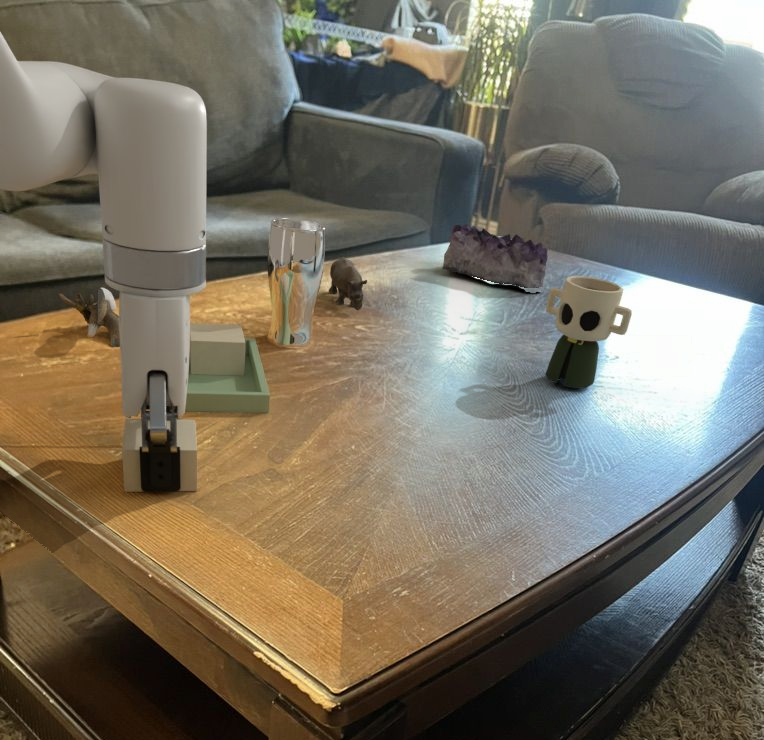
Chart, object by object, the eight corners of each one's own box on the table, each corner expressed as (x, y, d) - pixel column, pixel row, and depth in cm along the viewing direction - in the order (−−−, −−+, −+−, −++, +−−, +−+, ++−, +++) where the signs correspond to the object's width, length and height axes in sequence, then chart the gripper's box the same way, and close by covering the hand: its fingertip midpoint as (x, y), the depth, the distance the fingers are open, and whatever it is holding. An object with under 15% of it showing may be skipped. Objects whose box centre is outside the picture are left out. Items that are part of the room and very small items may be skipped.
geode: (552, 286, 145) (565, 233, 139) (531, 307, 137) (544, 251, 131) (454, 258, 152) (462, 205, 145) (428, 276, 143) (435, 221, 137)
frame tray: (269, 416, 82) (270, 395, 81) (174, 414, 79) (174, 392, 78) (254, 356, 96) (255, 338, 95) (173, 354, 93) (173, 334, 92)
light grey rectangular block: (124, 492, 66) (121, 449, 64) (127, 458, 70) (125, 418, 68) (197, 491, 67) (197, 450, 65) (195, 458, 72) (195, 419, 70)
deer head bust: (46, 325, 93) (86, 334, 88) (67, 269, 93) (108, 275, 88) (100, 350, 99) (140, 359, 94) (119, 298, 99) (161, 304, 94)
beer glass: (294, 330, 106) (302, 215, 98) (328, 347, 102) (338, 228, 94) (253, 338, 101) (257, 218, 94) (286, 355, 97) (293, 232, 90)
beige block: (190, 374, 88) (190, 340, 86) (189, 355, 93) (189, 322, 90) (244, 376, 89) (245, 342, 87) (240, 356, 94) (241, 324, 92)
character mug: (519, 376, 101) (542, 276, 95) (541, 364, 106) (565, 268, 100) (597, 403, 96) (627, 300, 90) (617, 389, 102) (646, 290, 95)
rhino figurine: (344, 318, 113) (348, 277, 110) (324, 290, 124) (327, 252, 121) (371, 319, 114) (376, 278, 111) (349, 291, 125) (352, 253, 122)
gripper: (110, 233, 65) (121, 426, 75) (94, 295, 51) (110, 524, 61) (202, 240, 67) (201, 427, 77) (211, 301, 53) (209, 522, 62)
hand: (161, 468), depth 68 cm, fingers open, 6 cm apart
